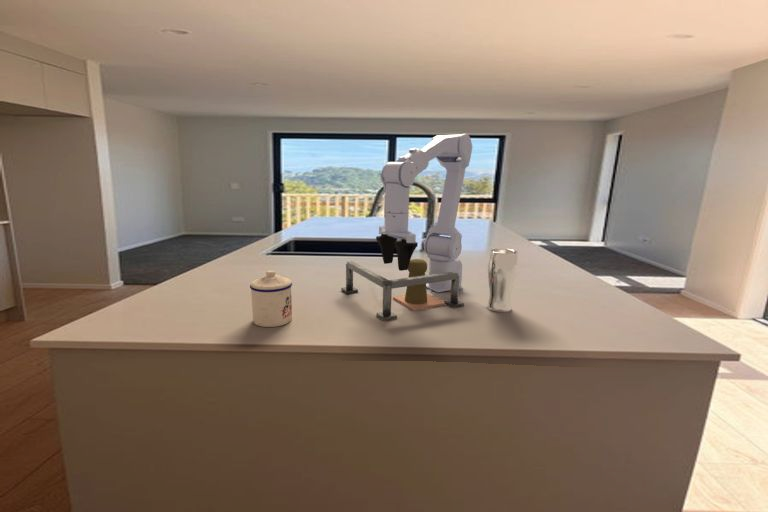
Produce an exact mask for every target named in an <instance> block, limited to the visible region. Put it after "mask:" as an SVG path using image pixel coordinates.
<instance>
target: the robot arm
mask: <svg viewBox="0 0 768 512" xmlns="http://www.w3.org/2000/svg"><path fill="white" fill-rule="evenodd" d="M472 151H473V143H472V139H471V136H470V135H469V134H468V133H462V134H459V133H458V134H437V135H435V136H433V137H432V138H431V141H430V142H429V143H428V144H426V145H425V146H424V147H423V148H422V149H420V148H416V147H413V148H410V149H409V150H408V153H406V154H404V155H403V156H402V155H401V156H399V157H398V158H397V160H396V161H388V162H387V163H386V164H385V165H384V166H383V168H382V170H381V173H380V174H379V175H380V180H381V183H382V184H383V186H382V187H383V193H385V195H384V197H385V198H384V199H385V200H384V201H385V205H384V207H385V208H384V213H385V214H384V226H383V225H382V226H379V227H378V234H379V235H378V236H375V239H376V242H377V243H378V246H379V249H380V252H381V256H382V261H383V264H385V265H386V264H388V265H389V264H393V260H394V254H395V250H396V257H397V268H398V270H399V271H401V272H402V271H408V266H409V263H410V260H412V256H413V254H414V252H415V250H416V249H417V247H418V242H417V241H416V237H417V235H416V234H415V233H412V232H411V231H410V230H409V213H410V211H409V209H410V186H413V184H414V183H415V179H416V177H418V175H420V174H421V173H422V172H423V171H425V170H426V169H428V167H429V163H430V161H432V160H434V159H435V158H436V159H437V162H438V163H439V164H440V166H441V167H443V168H445V170H446V174H445V178H444V179H445V180H444V185H443V188H442V189H443V190H442V195H441V200H440V207H439V212H438V215H437V216H438V217H437V222H436V224H434V226H432V227H430V228H429V229H428V231H427V236H426V238H425V240H424V242H423V249H424V253H425V254H426V255H427V258H428V259H429V262H428V265H429V267H428V275H432V274H440V273H447V272H456V273H458V275H460V277H459V290H461V289H464V287H463V286H462V278H463V264H462V261H461V260H460V258H459V256H460V255H461V252H462V238H463V235H462V233H461V232H460V231H459V230H458V229H457V227H455V226H456V222H457V221H456V220H457V215H458V210H459V207H460V201H461V194H462V191H463V190H462V188H463V184H464V179H465V172H466V168H468V167H469V166H470V163H471V157H472ZM397 240H398V241H397ZM399 240H400V241H399ZM426 289H429V290H432V291H434V292H436V293H443V292H448V291H449V292H450V291H451V280H448V281H441V282H434V283H427V284H426Z"/></svg>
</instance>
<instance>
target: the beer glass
mask: <svg viewBox="0 0 768 512" xmlns="http://www.w3.org/2000/svg"><path fill="white" fill-rule="evenodd" d="M518 254H519V252H518V250H514V249H509V248H492V249H490V250H489V258H488V265H487V279H488V288H489V291H488V292H489V293H488V299H487V303H486V308H487V309H488V310H490V311H493V312H496V313H508V312H511V311H512V300H511V298H512V297H511V296H512V292H513V288H514V286H515V282H516V277H517V273H518V272H517V271H518Z"/></svg>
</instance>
